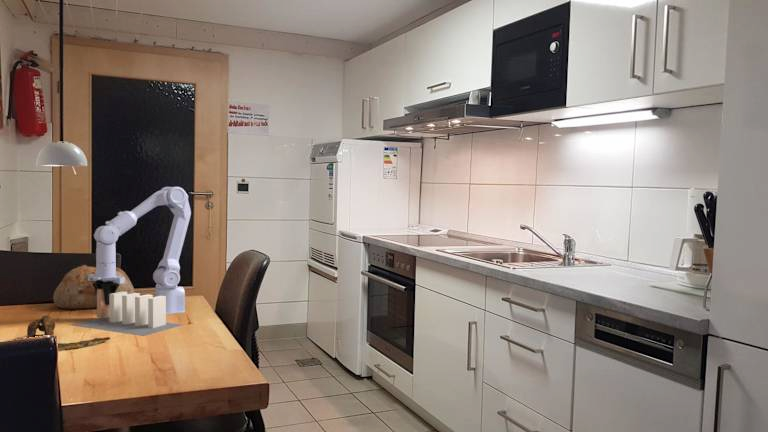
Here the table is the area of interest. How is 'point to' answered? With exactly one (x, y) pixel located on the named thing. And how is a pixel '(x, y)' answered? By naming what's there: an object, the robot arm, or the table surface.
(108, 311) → the domino
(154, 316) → the domino
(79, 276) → the bread
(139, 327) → the mat
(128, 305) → the domino
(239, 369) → the table surface
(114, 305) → the domino
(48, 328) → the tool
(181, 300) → the robot arm
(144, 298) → the domino
